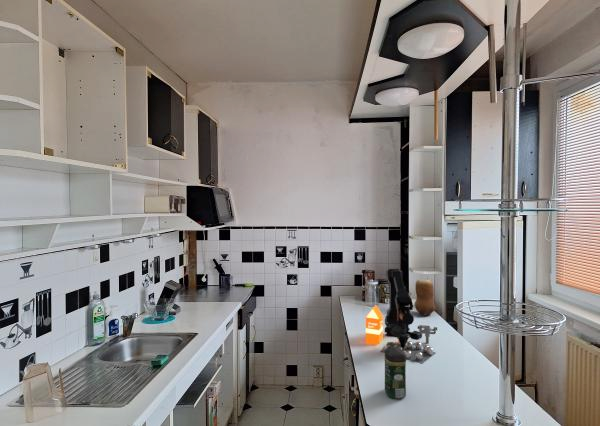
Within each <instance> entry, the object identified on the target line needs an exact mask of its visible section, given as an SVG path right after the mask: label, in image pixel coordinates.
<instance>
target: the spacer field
mask: <svg viewBox="0 0 600 426" xmlns="http://www.w3.org/2000/svg"><path fill="white" fill-rule="evenodd" d="M396 339H397V345H398V346H396V347H398V348H400V349H401V350H402V347H401V345H400V342H399V340H398V338H397V337H396ZM422 345H423V343H422V342H421V341H416V342H415V347H416V350H421V349H423V353H425V354H427V355H428V356H432V357H433V356H434V355H433V352H434V348H433V346H432V347H431V346H430V345H428V344H424V345H423V347H422ZM388 347H390V345H388V344H387V343H385V344H383V349H384V353H383V354H385V349H386V348H388ZM412 347H413V341H410V340H407V343H406V349H408V350H406V351H405V355H406V359H408V360H407V361H410V359H411V351H409V350H412ZM416 360H417V361H422V352H416Z"/></svg>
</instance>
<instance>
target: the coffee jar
mask: <svg viewBox="0 0 600 426" xmlns="http://www.w3.org/2000/svg"><path fill="white" fill-rule="evenodd" d="M406 364H407V360H406V355H405V353H404V352H403V351H402V350H401V349H400V348H398V347H388V348H386V349H385V353H384V391H385V394H386V395H387V397H389V398H391V399H395V400H396V399H397V400H401V399H404V398H406V396H407V394H406V393H407V387H406V386H407V385H406V379H407V377H406V376H407V375H406V370H407V368H406Z"/></svg>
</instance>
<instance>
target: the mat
mask: <svg viewBox="0 0 600 426" xmlns="http://www.w3.org/2000/svg"><path fill="white" fill-rule="evenodd" d="M394 343H396V346H398V345H397V342H396V341H395V342H394ZM406 350H408V349H406V345H405V347H404V349H402V351H403V352H404V353H405V351H406ZM409 351H411V359H410V360H408V359H406V361H409V362H414V363H418V364H419V365H420V364H422V365H423V364H424V363H425V362H426V361H429V359H430V358H431V357H433V356H435V354H437V352H436V351H433V356H428V355H427V354H425V353H423V348H421V350H416V346H412V350H409ZM416 352H422V361H417V360H416ZM379 353H383V354H385V353H384V348H383V349H382V350H380V351H379Z"/></svg>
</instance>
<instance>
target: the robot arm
mask: <svg viewBox="0 0 600 426" xmlns="http://www.w3.org/2000/svg"><path fill="white" fill-rule="evenodd" d="M385 277H386V280H387V281H388V283H389V308H388V310H387V311H386V315H385V317H384V325H385V327H384V333H385V334H384V336H385V337H390V338H396V339H397V338H398V340H399V342H400V345H401V347H402V349H404V347H405V345H406V343H407V341H409V339H411V340H415V341H419V340H421V339H422V338H423V334H422V333H421V332H420V331H419V330H414V331H410V330H411V329H410V327H409V325H412V324H413V323H414V320H415V317H414V316H413V314H411V311H413V309H414V304H413V300H412V297H411V296H410V293H409V292H408V291H407V290H406V287H405V283H404V280H403V271H402V270H400V269H399V268H388V269H386V271H385Z"/></svg>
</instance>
